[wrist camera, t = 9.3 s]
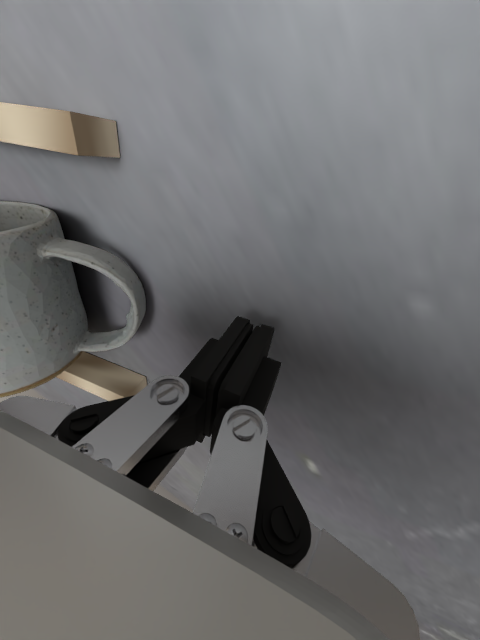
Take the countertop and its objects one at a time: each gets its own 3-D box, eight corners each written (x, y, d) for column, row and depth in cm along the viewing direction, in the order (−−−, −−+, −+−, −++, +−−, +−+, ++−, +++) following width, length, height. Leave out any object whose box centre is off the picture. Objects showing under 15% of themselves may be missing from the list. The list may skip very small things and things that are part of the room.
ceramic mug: (40, 317, 19) (-110, 391, 12) (-13, 196, 14) (-286, 216, 8) (163, 353, 16) (48, 470, 10) (142, 216, 12) (-88, 271, 5)
